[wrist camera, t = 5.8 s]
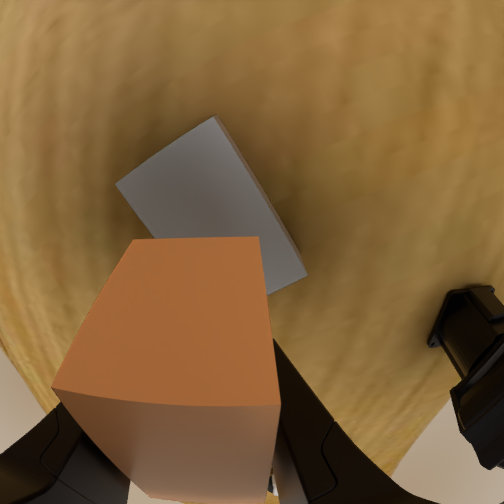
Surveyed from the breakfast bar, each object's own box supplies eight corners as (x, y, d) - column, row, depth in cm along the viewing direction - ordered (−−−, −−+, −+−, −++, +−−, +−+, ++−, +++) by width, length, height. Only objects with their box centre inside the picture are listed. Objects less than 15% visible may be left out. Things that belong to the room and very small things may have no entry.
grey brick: (299, 250, 20) (308, 275, 17) (221, 289, 21) (219, 318, 18) (217, 113, 15) (213, 116, 13) (132, 170, 17) (114, 183, 14)
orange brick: (256, 380, 11) (264, 503, 6) (168, 379, 11) (150, 497, 6) (258, 236, 8) (281, 403, 4) (133, 239, 8) (51, 387, 3)
